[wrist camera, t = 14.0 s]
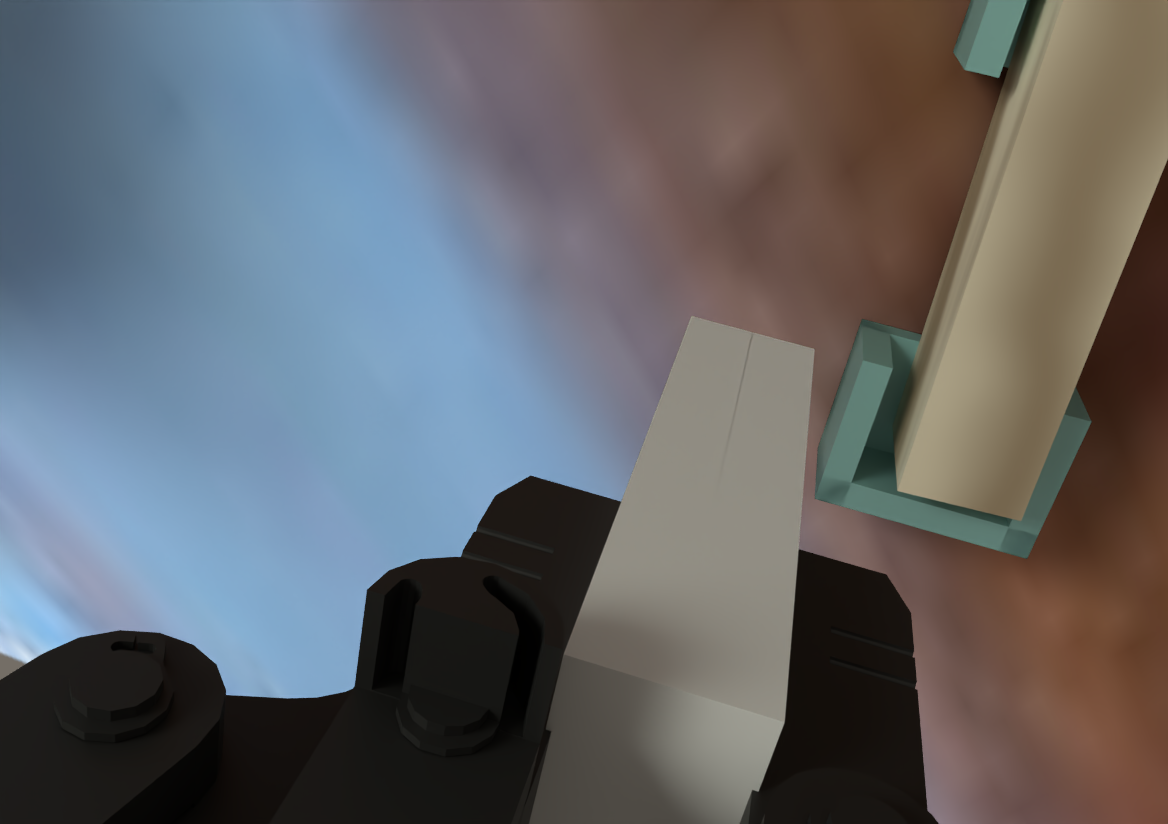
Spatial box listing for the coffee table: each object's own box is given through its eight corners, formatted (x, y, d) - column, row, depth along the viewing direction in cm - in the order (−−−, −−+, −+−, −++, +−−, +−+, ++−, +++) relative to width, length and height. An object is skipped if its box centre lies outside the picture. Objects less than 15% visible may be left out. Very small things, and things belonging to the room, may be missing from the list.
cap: (817, 448, 42) (815, 498, 39) (861, 318, 40) (862, 360, 36) (1012, 502, 41) (1027, 559, 38) (1069, 373, 39) (1091, 421, 35)
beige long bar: (892, 425, 40) (897, 490, 36) (1042, -37, 33) (1072, -26, 28) (1002, 451, 40) (1021, 521, 35) (1179, -12, 32) (1230, 3, 28)
